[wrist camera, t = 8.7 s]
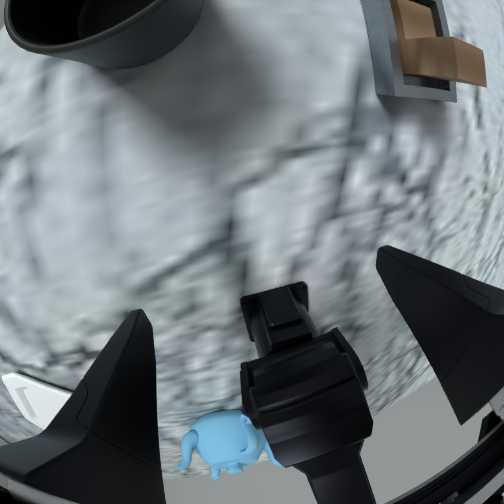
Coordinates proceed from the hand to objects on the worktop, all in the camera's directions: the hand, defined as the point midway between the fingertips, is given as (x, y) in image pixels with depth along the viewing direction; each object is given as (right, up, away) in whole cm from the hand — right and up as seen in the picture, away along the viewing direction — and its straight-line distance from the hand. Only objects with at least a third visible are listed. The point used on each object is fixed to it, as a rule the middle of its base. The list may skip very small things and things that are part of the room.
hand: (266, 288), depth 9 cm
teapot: (-6, -29, +32) cm, 43 cm away
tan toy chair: (+12, +19, +5) cm, 23 cm away
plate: (-33, -28, +25) cm, 50 cm away
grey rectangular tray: (+12, +19, +5) cm, 24 cm away
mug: (-9, +18, +1) cm, 20 cm away
